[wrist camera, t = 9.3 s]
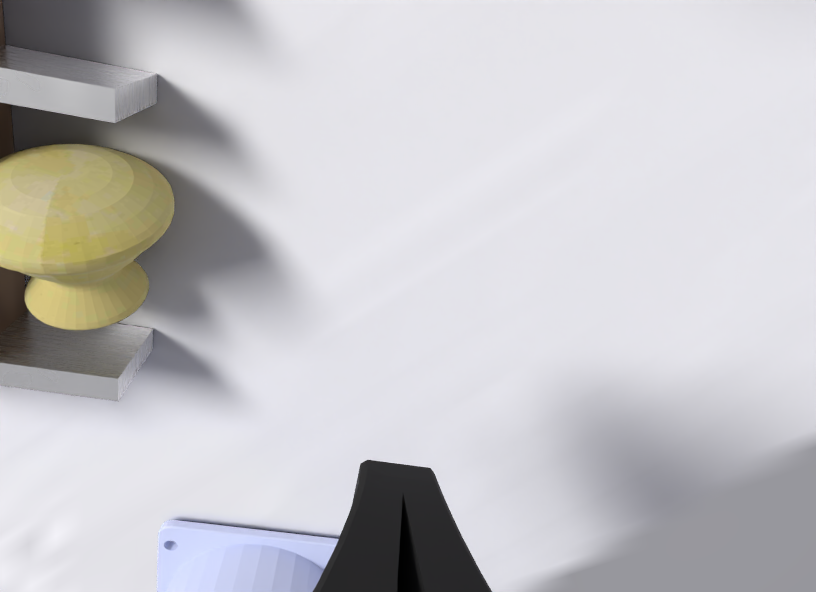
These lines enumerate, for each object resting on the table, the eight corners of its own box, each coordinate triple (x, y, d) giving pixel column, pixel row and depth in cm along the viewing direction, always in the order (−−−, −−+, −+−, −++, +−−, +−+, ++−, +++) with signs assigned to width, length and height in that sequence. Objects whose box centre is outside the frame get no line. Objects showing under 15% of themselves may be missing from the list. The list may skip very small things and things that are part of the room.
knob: (13, 121, 18) (-113, 165, 13) (197, 152, 18) (136, 204, 14) (26, 269, 20) (-79, 351, 15) (192, 294, 20) (137, 379, 16)
